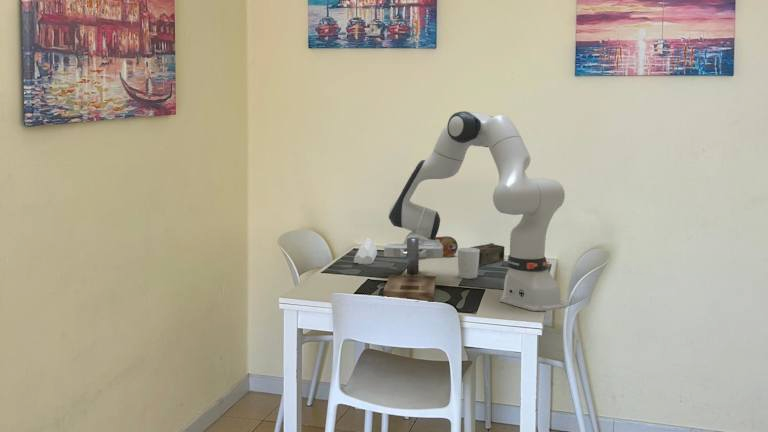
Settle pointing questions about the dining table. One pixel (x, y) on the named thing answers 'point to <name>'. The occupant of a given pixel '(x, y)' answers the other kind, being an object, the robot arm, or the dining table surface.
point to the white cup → (468, 262)
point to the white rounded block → (366, 252)
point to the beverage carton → (490, 253)
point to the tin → (448, 245)
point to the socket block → (411, 287)
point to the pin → (412, 256)
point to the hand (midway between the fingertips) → (412, 255)
